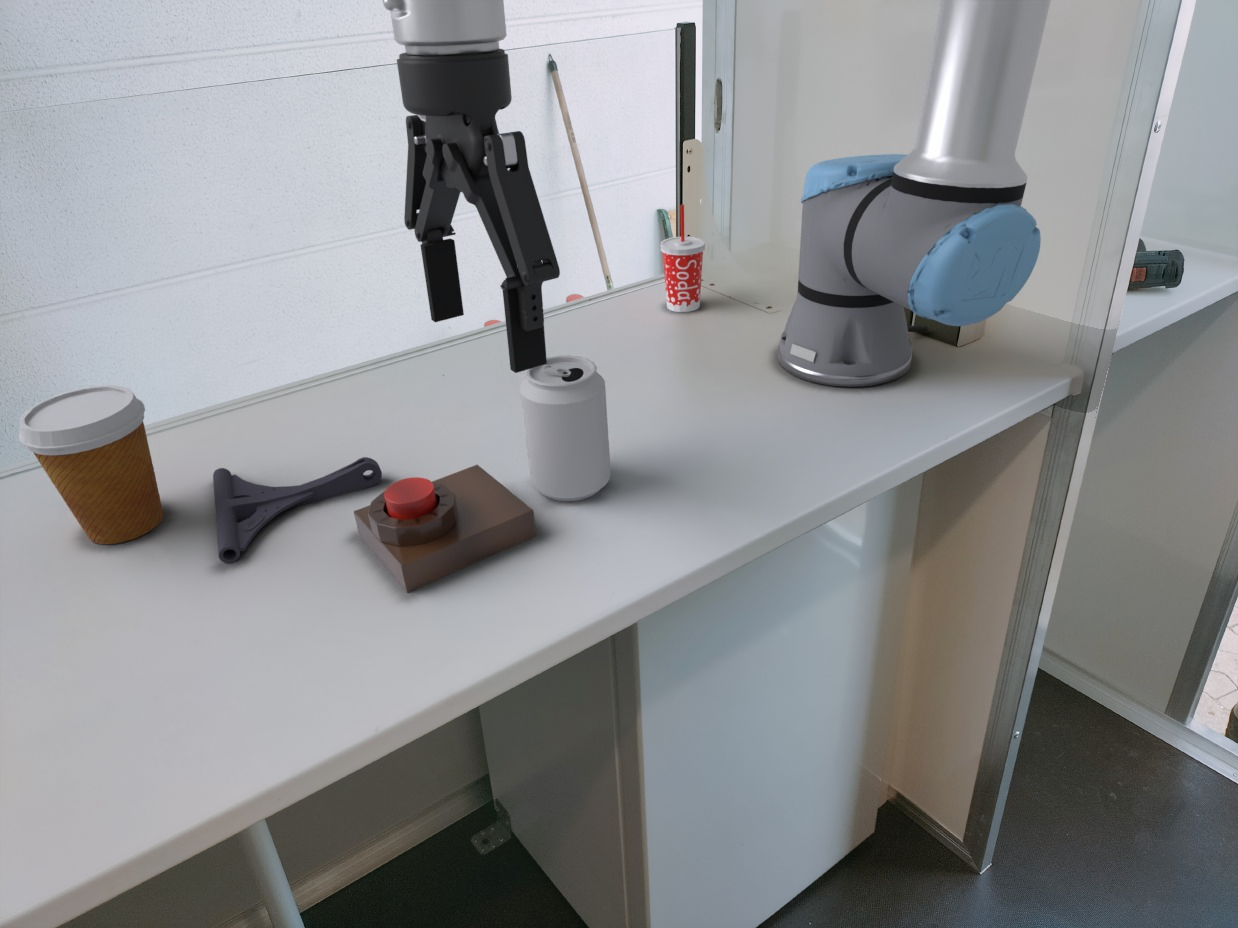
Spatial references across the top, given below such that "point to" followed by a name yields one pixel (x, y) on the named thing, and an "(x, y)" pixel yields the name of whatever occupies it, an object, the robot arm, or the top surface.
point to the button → (410, 498)
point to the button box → (447, 528)
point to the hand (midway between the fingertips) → (485, 341)
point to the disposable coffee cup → (97, 459)
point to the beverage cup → (683, 270)
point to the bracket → (275, 501)
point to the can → (566, 428)
